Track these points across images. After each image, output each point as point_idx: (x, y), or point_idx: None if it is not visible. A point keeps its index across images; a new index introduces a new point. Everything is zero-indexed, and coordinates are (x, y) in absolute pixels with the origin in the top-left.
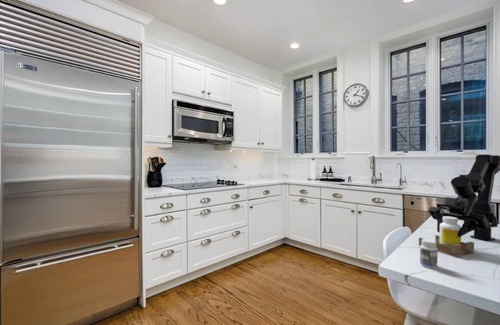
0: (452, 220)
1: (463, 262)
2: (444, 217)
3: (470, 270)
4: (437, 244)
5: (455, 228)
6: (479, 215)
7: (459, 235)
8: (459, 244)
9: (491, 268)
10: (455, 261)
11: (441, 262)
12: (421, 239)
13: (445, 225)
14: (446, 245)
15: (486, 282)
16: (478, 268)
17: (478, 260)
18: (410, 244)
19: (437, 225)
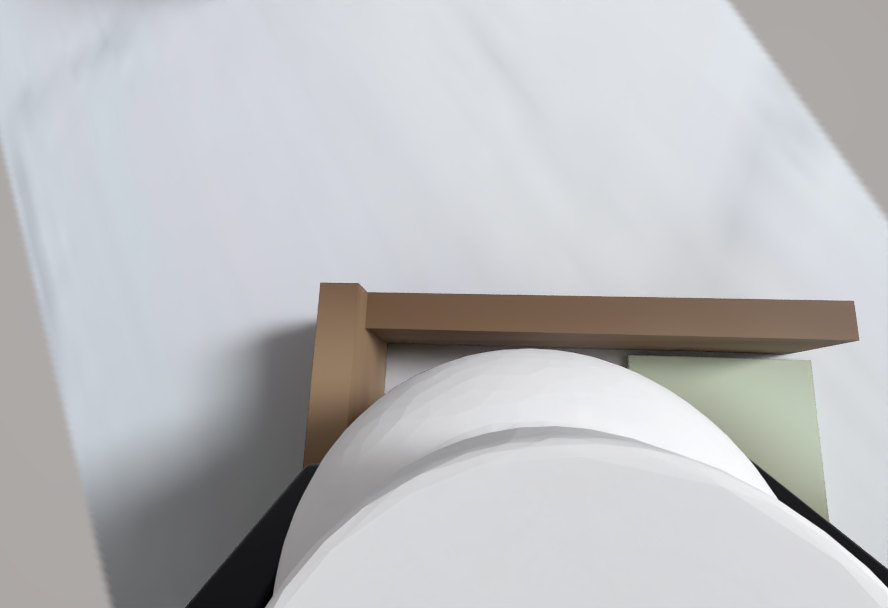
0: (330, 528)
1: (248, 240)
2: (718, 488)
3: (144, 115)
4: (551, 296)
5: (316, 471)
6: None
7: (301, 482)
8: (325, 414)
9: (70, 321)
10: (294, 198)
11: (337, 64)
12: (800, 304)
13: (524, 368)
14: (451, 324)
15: (15, 14)
16: (127, 217)
17: (203, 439)
18: (842, 254)
19: (860, 551)
